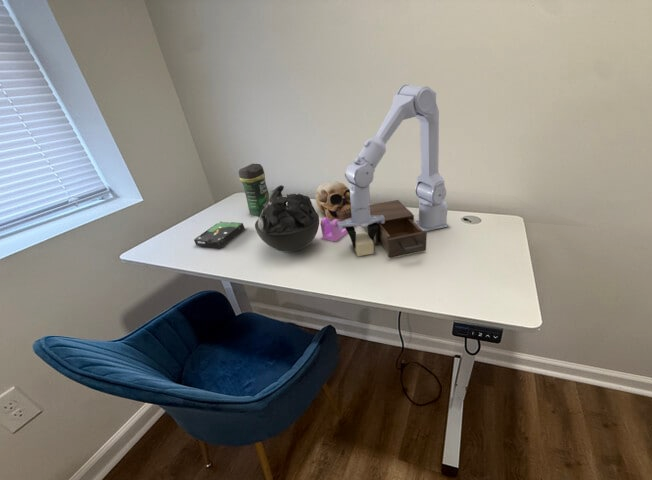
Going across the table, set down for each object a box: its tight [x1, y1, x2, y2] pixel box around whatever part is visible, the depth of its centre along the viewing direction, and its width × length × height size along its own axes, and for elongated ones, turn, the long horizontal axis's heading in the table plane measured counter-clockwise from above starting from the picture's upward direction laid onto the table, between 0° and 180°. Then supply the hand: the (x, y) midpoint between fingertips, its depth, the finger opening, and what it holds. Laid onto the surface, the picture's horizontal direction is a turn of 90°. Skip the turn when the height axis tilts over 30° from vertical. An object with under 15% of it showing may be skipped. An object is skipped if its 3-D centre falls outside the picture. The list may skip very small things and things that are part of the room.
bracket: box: [320, 216, 348, 242], centre depth 112 cm, size 13×6×7 cm, turn 152°
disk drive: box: [193, 221, 246, 249], centre depth 114 cm, size 10×3×15 cm
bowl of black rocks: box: [254, 185, 320, 253], centre depth 101 cm, size 20×20×19 cm
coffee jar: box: [237, 163, 270, 217], centre depth 126 cm, size 10×8×19 cm
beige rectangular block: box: [351, 231, 375, 257], centre depth 102 cm, size 5×8×4 cm
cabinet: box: [364, 199, 415, 245], centre depth 110 cm, size 14×13×8 cm
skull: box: [314, 180, 352, 222], centre depth 123 cm, size 16×17×13 cm
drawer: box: [377, 218, 428, 259], centre depth 99 cm, size 18×12×6 cm, turn 18°
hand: (362, 246), depth 103 cm, fingers closed on beige rectangular block, 5 cm apart
